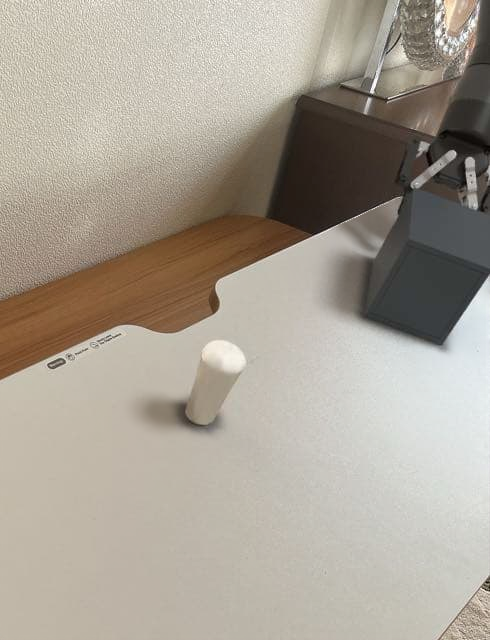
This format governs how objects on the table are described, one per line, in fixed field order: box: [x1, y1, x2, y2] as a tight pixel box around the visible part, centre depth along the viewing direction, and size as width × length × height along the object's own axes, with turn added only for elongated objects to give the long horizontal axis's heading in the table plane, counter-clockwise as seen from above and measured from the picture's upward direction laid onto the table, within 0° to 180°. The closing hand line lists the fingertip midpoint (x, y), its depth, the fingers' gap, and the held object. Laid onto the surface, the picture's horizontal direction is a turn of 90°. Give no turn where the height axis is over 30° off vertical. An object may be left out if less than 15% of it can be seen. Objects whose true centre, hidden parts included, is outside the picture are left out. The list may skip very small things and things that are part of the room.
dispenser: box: [364, 187, 490, 346], centre depth 114 cm, size 14×11×12 cm
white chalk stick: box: [184, 339, 259, 426], centre depth 91 cm, size 4×5×10 cm
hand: (428, 229), depth 121 cm, fingers open, 7 cm apart
